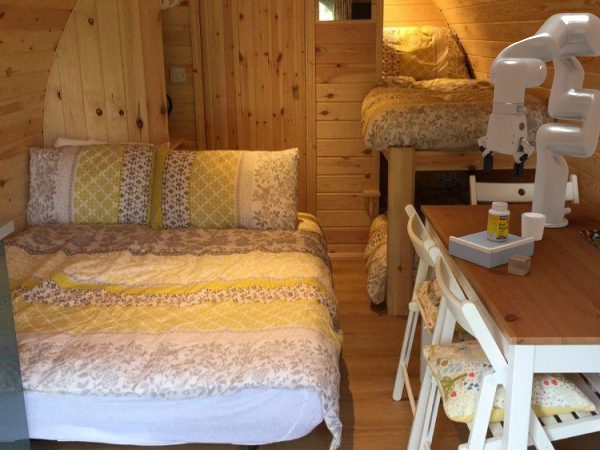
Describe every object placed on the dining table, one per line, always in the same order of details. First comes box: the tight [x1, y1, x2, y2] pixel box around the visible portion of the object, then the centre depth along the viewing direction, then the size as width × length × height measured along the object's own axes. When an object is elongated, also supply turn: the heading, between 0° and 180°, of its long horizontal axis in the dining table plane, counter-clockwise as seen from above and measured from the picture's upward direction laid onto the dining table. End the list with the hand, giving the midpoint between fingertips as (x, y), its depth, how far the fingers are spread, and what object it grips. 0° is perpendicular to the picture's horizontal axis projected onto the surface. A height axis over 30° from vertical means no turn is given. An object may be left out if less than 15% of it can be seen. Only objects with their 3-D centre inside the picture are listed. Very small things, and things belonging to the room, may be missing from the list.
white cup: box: [521, 211, 546, 242], centre depth 189 cm, size 7×7×7 cm
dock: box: [448, 230, 535, 269], centre depth 175 cm, size 18×14×5 cm
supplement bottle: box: [486, 200, 511, 242], centre depth 174 cm, size 6×6×10 cm
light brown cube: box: [507, 254, 532, 277], centre depth 162 cm, size 4×4×4 cm
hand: (502, 174), depth 171 cm, fingers open, 9 cm apart
